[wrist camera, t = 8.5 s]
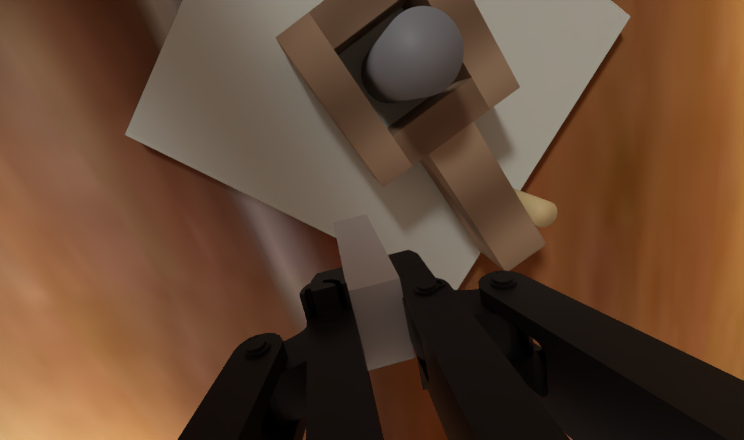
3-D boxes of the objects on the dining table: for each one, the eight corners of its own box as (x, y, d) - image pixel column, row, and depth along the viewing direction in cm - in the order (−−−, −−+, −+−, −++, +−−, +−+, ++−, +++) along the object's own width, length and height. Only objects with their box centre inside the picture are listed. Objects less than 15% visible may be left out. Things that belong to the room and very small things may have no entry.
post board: (134, 133, 24) (29, 144, 15) (295, -240, 20) (278, -506, 12) (452, 290, 30) (508, 362, 21) (621, 24, 26) (770, -21, 17)
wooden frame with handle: (282, 50, 22) (275, 37, 18) (410, -47, 22) (430, -82, 18) (444, 276, 28) (465, 302, 24) (550, 200, 27) (588, 214, 23)
